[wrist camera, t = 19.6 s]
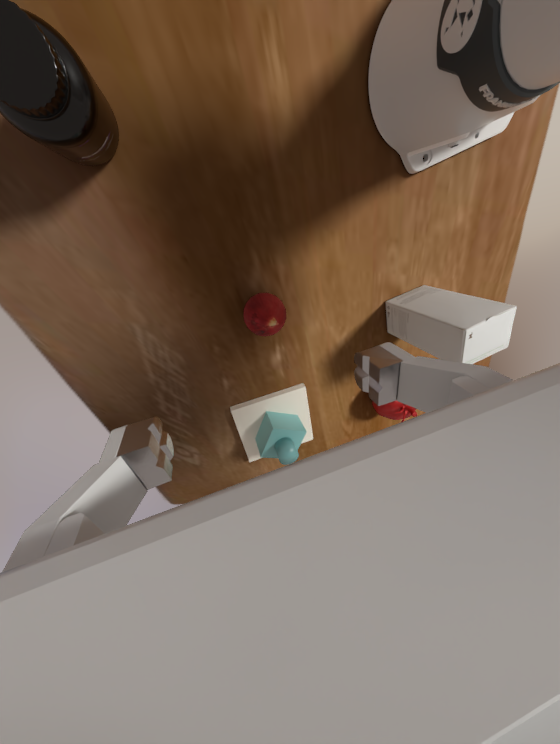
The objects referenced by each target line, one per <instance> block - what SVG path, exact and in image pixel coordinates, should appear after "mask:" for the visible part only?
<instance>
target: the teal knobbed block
mask: <svg viewBox="0 0 560 744" xmlns="http://www.w3.org/2000/svg"><path fill="white" fill-rule="evenodd" d="M306 432H307V431H306V429H305V428H304V426H303V424H302V422H301V420H300V419H299V417H298V415H294V414H286V413H278V412H270V411H266V413H265V415H264V418H263V420H262V423H261V425H260V428H259V430H258V433H257V435H256V438H255V440H256V443H257V447H258V450H259V453H260V457H264V458H279V461H280V463H282V464H284V465H287V464H291V463H293V462H295V461H296V460H297V458H298V456H299V454H298V451H297V450H298V448H299V446H300V444H301V442H302V440H303V438H304V436H305V434H306Z"/></svg>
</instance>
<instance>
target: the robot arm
mask: <svg viewBox="0 0 560 744" xmlns="http://www.w3.org/2000/svg"><path fill="white" fill-rule="evenodd" d="M558 83H560V0H392V1H391V3H390V4H389V6H388V8H387V10H386V11H385V13H384V15H383V17H382V20H381V22H380V24H379V27H378V30H377V33H376V36H375V39H374V43H373V47H372V52H371V57H370V65H369V78H368V88H369V100H370V106H371V111H372V115H373V118H374V121H375V124H376V126H377V129H378V131H379V132H380V134H381V136H382V137H383V139H384V140H385V141H386V142H387V143H388V144H389V145H390V146H391V147H392V148H393V149H395V150H396V151H397V152H398V153H399V155H400V156H401V159H402V161H403V164H404V166H405V168H406V170H407V171H408V172H409V173H410V174H414V173H417V172H419V171H421V170H424V169H426V168H428V167H430V166H432V165H434V164H436V163H438V162H440V161H442V160H445V159H447V158H449V157H451V156H453V155H455V154H457V153H459V152H461V151H463V150H466V149H468V148H470V147H472V146H474V145H476V144H478V143H480V142H482V141H484V140H487V139H489V138H491V137H493V136H495V135H497V134H499V133H501V132H502V131H504V129H505V128H506V127H507V125H508V123H509V121H510V120H511V118H512V116H513V114H514V112H515V111H517V110H519V109H521V108H523V107H525V106H527V105H529V104H532V103H533V102H534V101H535V100H536V99H537V98H538V97H539V96H540V95H541V94H543V93H545V92H547V91H549V90H550V89H552V88H553V87H554V86H556V85H557V84H558ZM423 156H424V161H423ZM354 363H355V364H356V365H357V367H356V369H355V371H354V374H355V380H356V383H357V385H358V386H359V388H360V389H361V390H362V391H364V392H368V393H369V398H370V399H371V400H372V401H373V402H374V403H375V404H376V405H378V406H381V405H384V404H387V403H390V402H393V401H396V400H397V401H398V402H401V403H403V404H406V405H408V406H411V407H414V408H416V409H419V410H421V411H424V412H426V413H425V414H423V415H420V416H417V417H415V418H412V419H409V420H407V421H404V422H401V423H399V424H396V425H393V426H391V427H388V428H385V429H383V430H380V431H377V432H375V433H372V434H369V435H367V436H364V437H361V438H359V439H356V440H353V441H351V442H348V443H345V444H342V445H340V446H337V447H334V448H332V449H329V450H326V451H324V452H321V453H319V454H316V455H313V456H311V457H308V458H305V459H303V460H300V461H297V462H295V463H292V464H289V465H287V466H284V467H281V468H279V469H276V470H273V471H271V472H268V473H265V474H263V475H260V476H258V477H255V478H252V479H250V480H247V481H244V482H242V483H239V484H236V485H234V486H231V487H228V488H226V489H223V490H220V491H218V492H215V493H212V494H210V495H207V496H204V497H202V498H199V499H196V500H194V501H191V502H188V503H186V504H183V505H180V506H178V507H175V508H172V509H170V510H167V511H164V512H162V513H159V514H156V515H154V516H151V517H148V518H146V519H143V520H140V521H138V522H135V523H132V524H130V525H127V523H128V522H129V520H130V519H131V517H132V515H133V514H134V512H135V510H136V509H137V507H138V505H139V504H140V502H141V500H142V499H143V498H144V496H145V494H146V492H147V490H148V489H151V488H153V487H156V486H158V485H161V484H164V483H166V482H169V481H171V479H172V467H173V465H172V464H171V462H170V460H171V459H172V457H173V454H174V449H173V443H172V440H171V438H170V436H169V434H168V433H167V432H165V431H163V430H162V426H163V424H162V422H161V421H160V419H159V418H158V417H156V416H155V417H152V418H149V419H145V420H142V421H139V422H135V423H132V424H129V425H125V426H122V427H119V428H116V429H114V430H112V431H111V433H110V436H109V438H108V441H107V444H106V446H105V449H104V451H103V454H102V456H101V459H100V461H99V463H98V464H95V465H93V466H92V467H91V468H90V469H89V470H88V471H87V472H86V473H85V474H84V475H83V476H82V477H81V478H80V479H79V480H78V481H77V482H76V483H75V484H73V485H72V487H70V488H69V489H68V490H67V491H66V492H65V493H64V494H63V495H62V496H61V497H60V498H59V499H58V500H57V501H56V502H55V503H54V504H52V505H51V506H50V507H49V508H48V510H46V511H45V512H44V513H43V514H42V515H41V516H40V517H39V518H38V519H37V520H36V521H35V522H34V523H33V524H32V525H31V526H29V527H28V528H27V529H26V530H25V531H24V533H23V535H22V537H21V538H20V541H19V542H18V544H17V546H16V548H15V550H14V551H13V553H12V555H11V557H10V559H9V561H8V562H7V564H6V566H5V568H4V570H3V572H2V573H0V744H560V363H558V364H556V365H553V366H550V367H548V368H545V369H542V370H540V371H537V372H535V373H532V374H529V375H526V376H524V377H521V378H518V379H516V380H512V379H510V378H508V377H506V376H504V375H502V374H500V373H498V372H496V371H494V370H492V369H490V368H488V367H485V366H479V365H472V364H466V363H459V362H453V361H446V360H440V359H433V358H427V357H420V356H418V357H414V356H412V355H411V354H409V353H407V352H406V351H404V350H402V349H401V348H399V347H397V346H396V345H394V344H392V343H390V342H386V343H383V344H381V345H378V346H376V347H373V348H370V349H367V350H364V351H361V352H358V353H355V356H354ZM126 525H127V526H126Z"/></svg>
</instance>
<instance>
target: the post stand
mask: <svg viewBox="0 0 560 744" xmlns="http://www.w3.org/2000/svg"><path fill="white" fill-rule="evenodd" d="M230 410H231V413H232V416H233V419H234V421H235V424H236V427H237V429H238V432H239V435H240V438H241V440H242V443H243V446H244V448H245V451H246V454H247V456H248V459H249V462H252V461H255V460H257V459H260V458H263V457H260V453H259V450H258V447H257V443H256V440H255V438H256V435H257V433H258V430H259V428H260V425H261V423H262V420H263V418H264V415H265V413H266V411H270V412H278V413H286V414H294V415H298V417H299V419H300V420H301V422H302V424H303V426H304V428H305V429H306V431H307V432H306V434H305V436H304V438H303V440H302V442H301V443H304V442H307V441H310V440H312V439H313V434H312V427H311V421H310V414H309V407H308V400H307V394H306V387H305V385H304V384H303V383H302V384H299V385H296V386H293V387H290V388H287V389H284V390H281V391H278V392H274V393H271V394H268V395H265V396H262V397H259V398H256V399H253V400H250V401H247V402H244V403H241V404H238V405H234V406H231V407H230Z"/></svg>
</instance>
